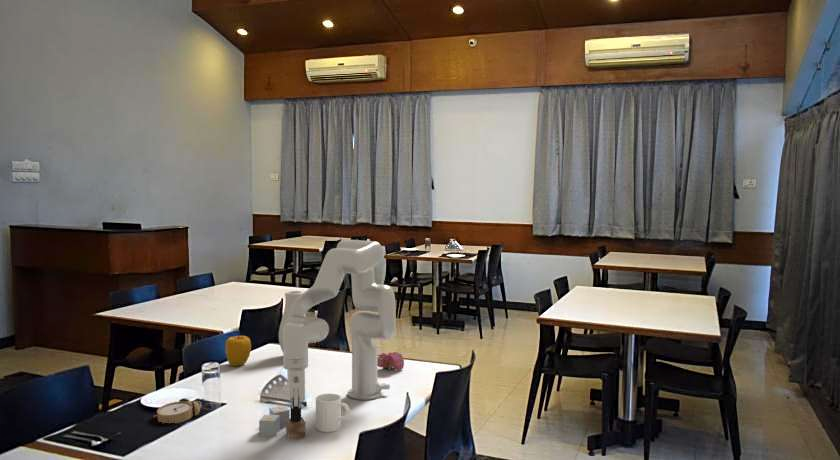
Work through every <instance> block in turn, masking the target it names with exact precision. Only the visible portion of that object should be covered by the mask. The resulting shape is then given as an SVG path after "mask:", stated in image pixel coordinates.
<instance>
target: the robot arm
mask: <svg viewBox="0 0 840 460" xmlns="http://www.w3.org/2000/svg"><path fill="white" fill-rule="evenodd" d="M383 257H384V249H383V246H382V245H381V244H380V242H378V241H372V240H362V239H361V240H359V239H345V240H340V241H339V242H338V243H337V245H336V247H335V248H330V249H329V250H328V251H327V252H326V254H325V256H324V259H323V261H322V263H321V265H320V269H319V271H318V274H317V276H316V278H315V281H314V283H313V285H312V286H311V287H310V288H308V289H307V290H306V291H304V292H303V294H302V295H301V296H300V297H299V298H298V299H297V300H296V301H295V302H294V303H293V305H292V307H291V309H290V312H289V314H288V317H287V319H286V323H285V325H284V328H283V352H282V354H283V355H282V357H283V359H282V361H283V362H282V365H283V366H282V368H283V369H284V370H286V373H287V374H286V375H287V376H286V377H287V381H286V382H287V393H288V400H289V402H290V409H289V410H290V418H291V421H300V420H301V417H302V406H301V401H302V402H305V401H306V370H305V369H307V368H308V367H309V344H312V343H319V342H322V341H324V340H325V339H326V338H327V336H328V335H329V332H330V326H329V323H328V322H327V321H326V320H325V319H324V318H319V317H313V316H305V315H307V312H308V311H310V309H312V307H314V306H316V305H317V304H320V303H324V302H326V301H328V300H331V299H333V298H335V297H336V296H338V294H339V291H340V288H341V286H342V283H343V281H344V278H345V276H346V274H350V277H351V278H350V279H351V295H352V303H353V306H354V307H356V308H358V309H365V310H359V311H356V312H354V313H352V315H351V317H350V318H349V331H350V336H351V349H352V350H351V388H350V389H348V391H347V396H348V397H349V398H351V399H353V400H359V401H361V400H362V401H368V400H375V399H377V398H380V396H382V390H386V391H387V390H390V388H391V386H390V383H387V384H386V382H382V383H380V382H379V381H378V366H377V357H378V355H379V354H378V345H377V343H376V340H375V339H377V340H391V339H392V338H393V337H394V336H395V333H396V329H397V328H396V327H397V326H396V325H397V318H396V317H397V316H396V315H397V314H396V297H395V291H394V290H393V288H392V287H391V286H390V285H387V284H380V283H379V284H378V283H376V279H375V270H374V268H375V267H376V266H378V265H379V263H381V261H382V259H383ZM368 310H373V311H368ZM375 311H376V312H375ZM377 311H378V312H377Z"/></svg>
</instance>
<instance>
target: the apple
mask: <svg viewBox="0 0 840 460" xmlns="http://www.w3.org/2000/svg"><path fill="white" fill-rule="evenodd" d="M224 349H225V356H226V359H227V362H228V363H229V365H230V366H232V367H238V366H239V367H240V366H242V365H245V364H246V363H247V361H248V359H249V358H250V355H251V351H252V341H251V339H250V337H249V336H246V335H236V336H235V335H234V336H230V337H228V338H227V339H226V341H225V348H224Z"/></svg>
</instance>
